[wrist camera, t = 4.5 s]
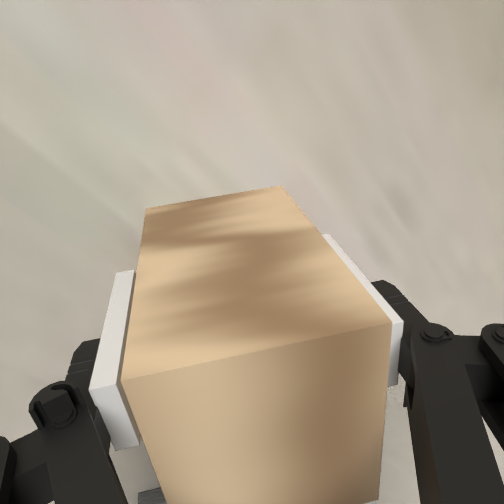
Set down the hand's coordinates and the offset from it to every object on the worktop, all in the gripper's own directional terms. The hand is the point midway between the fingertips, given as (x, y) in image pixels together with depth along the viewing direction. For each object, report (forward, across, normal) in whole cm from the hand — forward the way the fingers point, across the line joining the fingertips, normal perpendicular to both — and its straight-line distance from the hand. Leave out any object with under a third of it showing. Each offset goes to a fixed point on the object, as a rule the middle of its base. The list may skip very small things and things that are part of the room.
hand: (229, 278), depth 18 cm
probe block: (+1, 0, 0) cm, 1 cm away
